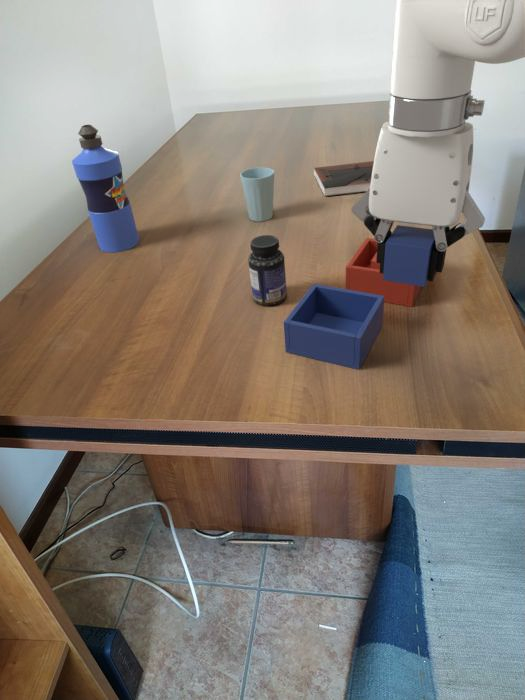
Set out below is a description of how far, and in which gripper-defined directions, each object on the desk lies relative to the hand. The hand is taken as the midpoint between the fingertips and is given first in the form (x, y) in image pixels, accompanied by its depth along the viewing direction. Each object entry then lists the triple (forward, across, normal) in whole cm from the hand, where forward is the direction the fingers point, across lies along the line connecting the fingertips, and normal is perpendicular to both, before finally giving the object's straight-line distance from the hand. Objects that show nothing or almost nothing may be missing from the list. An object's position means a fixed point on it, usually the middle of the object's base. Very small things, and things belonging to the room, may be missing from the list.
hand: (408, 270), depth 61 cm
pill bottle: (+16, +26, -11) cm, 32 cm away
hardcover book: (+16, +29, -71) cm, 78 cm away
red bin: (+16, +8, -22) cm, 28 cm away
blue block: (0, 0, 0) cm, 0 cm away
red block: (+15, +8, -22) cm, 28 cm away
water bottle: (+17, +69, -21) cm, 74 cm away
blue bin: (+16, +11, -4) cm, 19 cm away
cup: (+16, +44, -43) cm, 64 cm away
